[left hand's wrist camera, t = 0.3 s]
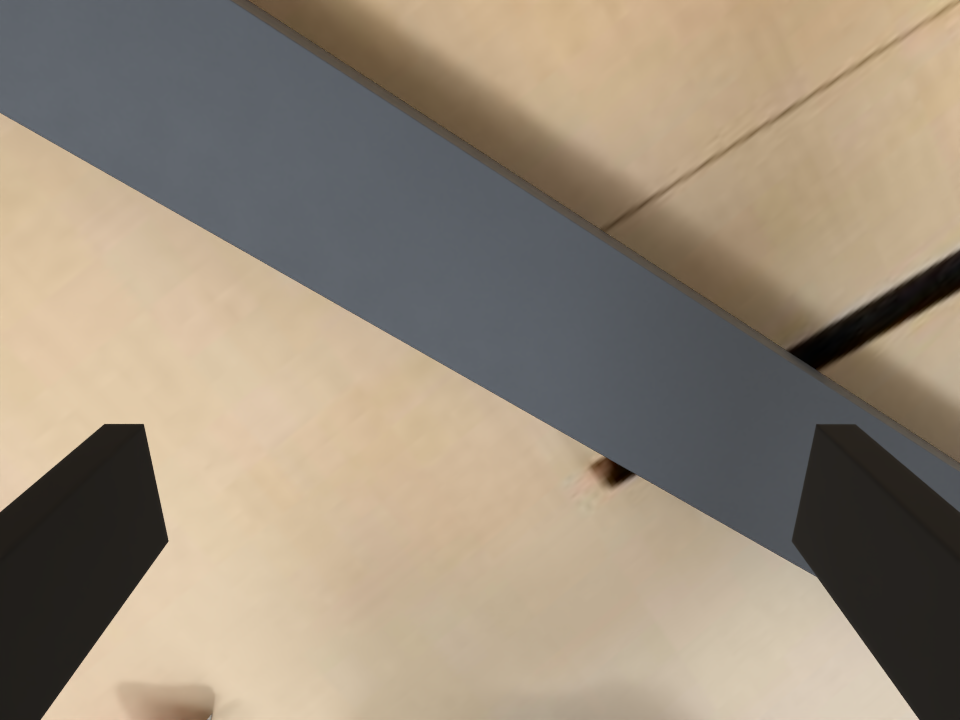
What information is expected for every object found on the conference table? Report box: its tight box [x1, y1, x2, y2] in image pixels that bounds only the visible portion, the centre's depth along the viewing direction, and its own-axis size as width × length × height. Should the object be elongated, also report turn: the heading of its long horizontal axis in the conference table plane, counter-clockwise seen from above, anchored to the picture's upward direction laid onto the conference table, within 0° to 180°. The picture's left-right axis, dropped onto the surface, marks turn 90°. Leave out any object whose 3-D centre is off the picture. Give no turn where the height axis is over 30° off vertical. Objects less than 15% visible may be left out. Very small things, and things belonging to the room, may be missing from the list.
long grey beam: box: [0, 0, 960, 577], centre depth 36 cm, size 84×10×7 cm, turn 58°
